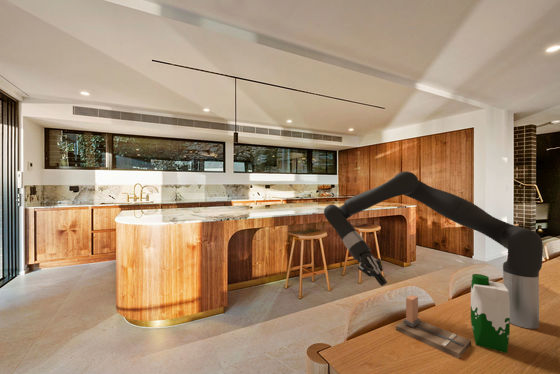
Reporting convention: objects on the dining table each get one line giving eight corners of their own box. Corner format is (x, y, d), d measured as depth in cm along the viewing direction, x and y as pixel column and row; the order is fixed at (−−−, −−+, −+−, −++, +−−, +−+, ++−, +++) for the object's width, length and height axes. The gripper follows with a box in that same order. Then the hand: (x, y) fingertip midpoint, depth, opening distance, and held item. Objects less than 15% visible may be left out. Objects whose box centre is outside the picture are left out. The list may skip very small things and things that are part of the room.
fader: (403, 323, 85) (403, 297, 85) (411, 318, 88) (411, 294, 88) (413, 327, 83) (413, 301, 83) (420, 322, 86) (420, 297, 86)
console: (395, 330, 85) (395, 324, 85) (410, 320, 91) (410, 315, 91) (458, 358, 70) (458, 352, 70) (471, 345, 76) (471, 339, 76)
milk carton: (469, 332, 84) (469, 270, 84) (505, 340, 79) (505, 275, 79) (472, 346, 76) (472, 278, 76) (512, 356, 71) (512, 284, 71)
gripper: (351, 241, 97) (381, 283, 87) (371, 237, 105) (400, 275, 95) (340, 252, 101) (367, 293, 91) (360, 248, 109) (387, 285, 99)
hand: (384, 284), depth 93 cm, fingers closed
